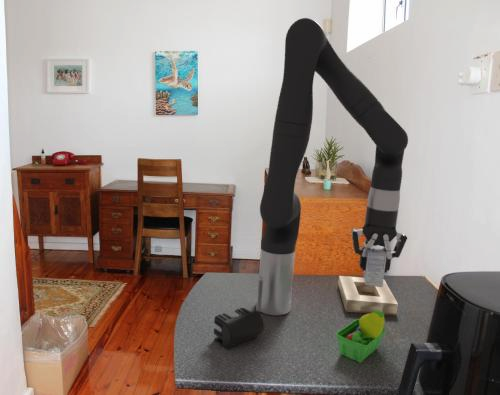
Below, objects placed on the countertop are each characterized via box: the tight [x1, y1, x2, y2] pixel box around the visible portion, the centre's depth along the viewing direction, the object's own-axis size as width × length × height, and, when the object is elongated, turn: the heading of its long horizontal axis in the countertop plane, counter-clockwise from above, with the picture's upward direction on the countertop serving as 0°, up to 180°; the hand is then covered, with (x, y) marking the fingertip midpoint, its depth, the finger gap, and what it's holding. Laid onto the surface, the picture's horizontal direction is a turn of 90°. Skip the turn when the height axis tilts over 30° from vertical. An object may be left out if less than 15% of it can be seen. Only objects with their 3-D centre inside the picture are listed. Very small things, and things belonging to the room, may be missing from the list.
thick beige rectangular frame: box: [337, 275, 399, 317], centre depth 135 cm, size 14×18×4 cm
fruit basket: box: [335, 310, 387, 363], centre depth 105 cm, size 11×9×11 cm
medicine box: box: [363, 245, 386, 287], centre depth 116 cm, size 8×4×9 cm, turn 169°
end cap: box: [213, 307, 265, 349], centre depth 107 cm, size 10×7×7 cm
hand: (373, 270), depth 117 cm, fingers closed on medicine box, 4 cm apart
